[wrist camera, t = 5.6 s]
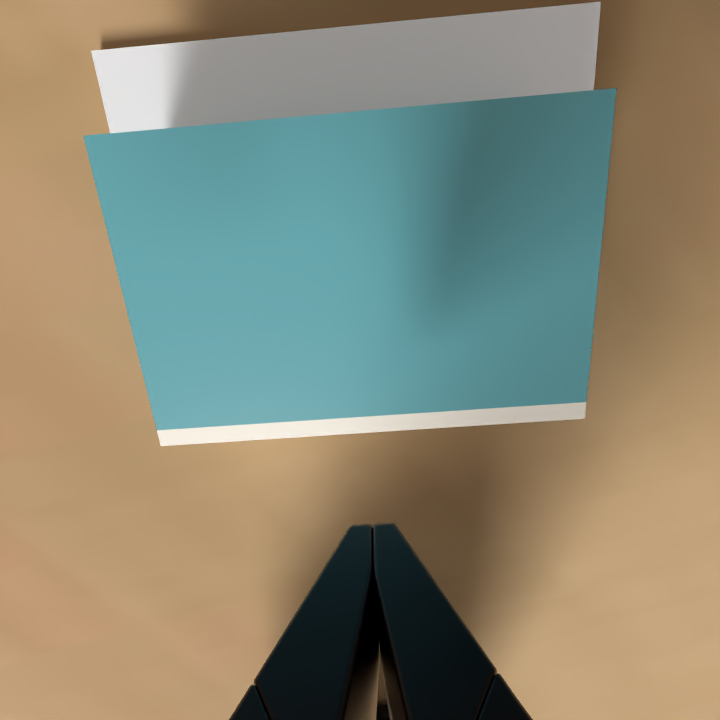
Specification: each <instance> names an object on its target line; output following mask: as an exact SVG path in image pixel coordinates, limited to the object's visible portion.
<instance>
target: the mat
mask: <svg viewBox="0 0 720 720" xmlns="http://www.w3.org/2000/svg"><path fill="white" fill-rule="evenodd" d="M600 7H601V2H592V3H581V4H571V5H561V6H550V7H540V8H530V9H519V10H509V11H498V12H488V13H478V14H467V15H457V16H447V17H436V18H426V19H416V20H405V21H395V22H385V23H374V24H364V25H354V26H343V27H333V28H323V29H312V30H302V31H292V32H281V33H271V34H261V35H250V36H240V37H229V38H219V39H209V40H198V41H188V42H178V43H167V44H157V45H147V46H136V47H126V48H116V49H105V50H95V51H91V52H92V56H93V61H94V65H95V69H96V74H97V78H98V82H99V87H100V91H101V95H102V100H103V104H104V108H105V112H106V117H107V121H108V125H109V130H110V133H120V132H131V131H143V130H154V129H165V128H176V127H187V126H198V125H210V124H221V123H232V122H243V121H254V120H265V119H277V118H288V117H299V116H310V115H321V114H332V113H344V112H355V111H366V110H377V109H388V108H399V107H411V106H422V105H433V104H444V103H455V102H466V101H478V100H489V99H500V98H511V97H522V96H533V95H545V94H556V93H567V92H578V91H589V90H594V81H595V68H596V56H597V44H598V31H599V19H600Z"/></svg>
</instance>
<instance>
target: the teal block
mask: <svg viewBox="0 0 720 720" xmlns="http://www.w3.org/2000/svg"><path fill="white" fill-rule="evenodd" d="M616 89H617V88H612V89H601V90H589V91H578V92H567V93H556V94H545V95H533V96H522V97H511V98H500V99H489V100H478V101H466V102H455V103H444V104H433V105H422V106H411V107H399V108H388V109H377V110H366V111H355V112H344V113H332V114H321V115H310V116H299V117H288V118H277V119H265V120H254V121H243V122H232V123H221V124H210V125H198V126H187V127H176V128H165V129H154V130H143V131H131V132H120V133H109V134H98V135H87V136H84V140H85V144H86V148H87V152H88V156H89V160H90V164H91V168H92V172H93V176H94V180H95V184H96V188H97V192H98V196H99V200H100V204H101V208H102V212H103V216H104V220H105V224H106V228H107V232H108V236H109V240H110V244H111V248H112V252H113V256H114V260H115V264H116V268H117V272H118V276H119V280H120V284H121V288H122V292H123V296H124V300H125V304H126V308H127V312H128V316H129V320H130V324H131V328H132V332H133V336H134V340H135V344H136V348H137V352H138V356H139V360H140V364H141V368H142V373H143V377H144V381H145V385H146V389H147V393H148V397H149V401H150V405H151V409H152V413H153V417H154V421H155V425H156V429H157V433H158V437H159V441H160V445H161V446H169V445H185V444H200V443H215V442H231V441H246V440H262V439H277V438H293V437H308V436H324V435H339V434H355V433H370V432H386V431H401V430H417V429H432V428H448V427H463V426H479V425H494V424H510V423H525V422H541V421H556V420H572V419H585V411H586V401H587V390H588V380H589V370H590V359H591V349H592V338H593V328H594V318H595V307H596V297H597V286H598V276H599V266H600V255H601V245H602V235H603V224H604V214H605V203H606V193H607V183H608V172H609V162H610V151H611V141H612V131H613V120H614V110H615V99H616Z"/></svg>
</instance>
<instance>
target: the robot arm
mask: <svg viewBox="0 0 720 720" xmlns="http://www.w3.org/2000/svg"><path fill="white" fill-rule="evenodd" d="M379 643H380V654H379ZM380 655H381V663H382V671H383V677H384V684H385V690H386V697H387V703H388V705H378V706H377V697H378V681H379V659H380ZM229 720H533V719H532V718H531V717H530V715H529V714H528V713H527V711H526V710H525V708H524V707H523V706H522V704H521V703H520V702H519V700H518V699H517V698H516V696H515V695H514V693H513V692H512V690H511V689H510V688H509V686H508V685H507V683H506V682H505V680H504V679H503V678H502V676H501V675H500V674H497V670H496V668H495V666H494V665H493V664H492V662H491V661H490V659H489V658H488V656H487V655H486V654H485V652H484V651H483V649H482V648H481V646H480V645H479V644H478V642H477V641H476V639H475V638H474V636H473V635H472V634H471V632H470V631H469V629H468V628H467V626H466V625H465V624H464V622H463V621H462V619H461V618H460V616H459V615H458V613H457V612H456V611H455V609H454V608H453V606H452V605H451V603H450V602H449V601H448V599H447V598H446V596H445V595H444V593H443V592H442V591H441V589H440V588H439V586H438V585H437V583H436V582H435V581H434V579H433V578H432V576H431V575H430V573H429V572H428V571H427V569H426V568H425V566H424V565H423V563H422V562H421V560H420V559H419V558H418V556H417V555H416V553H415V552H414V550H413V549H412V548H411V546H410V545H409V543H408V542H407V540H406V539H405V538H404V536H403V535H402V533H401V532H400V530H399V529H398V528H397V526H396V525H395V524H394V523H377V524H374V525H373V528H372V526H371V525H370V524H360V525H352V526H350V527H349V529H348V530H347V532H346V533H345V535H344V537H343V538H342V540H341V542H340V543H339V545H338V546H337V548H336V550H335V551H334V553H333V554H332V556H331V558H330V559H329V561H328V562H327V564H326V566H325V567H324V569H323V570H322V572H321V574H320V575H319V577H318V578H317V580H316V582H315V583H314V585H313V586H312V588H311V590H310V591H309V593H308V594H307V596H306V598H305V599H304V601H303V602H302V604H301V606H300V607H299V609H298V611H297V612H296V614H295V615H294V617H293V619H292V620H291V622H290V623H289V625H288V627H287V628H286V630H285V631H284V633H283V635H282V636H281V638H280V639H279V641H278V643H277V644H276V646H275V647H274V649H273V651H272V652H271V654H270V655H269V657H268V659H267V660H266V662H265V663H264V665H263V667H262V668H261V670H260V672H259V673H258V675H257V676H256V678H255V680H254V685H251V686H250V687H249V689H248V690H247V692H246V694H245V695H244V697H243V698H242V700H241V702H240V703H239V705H238V706H237V708H236V710H235V711H234V713H233V714H232V716H231V717H230V719H229Z"/></svg>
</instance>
